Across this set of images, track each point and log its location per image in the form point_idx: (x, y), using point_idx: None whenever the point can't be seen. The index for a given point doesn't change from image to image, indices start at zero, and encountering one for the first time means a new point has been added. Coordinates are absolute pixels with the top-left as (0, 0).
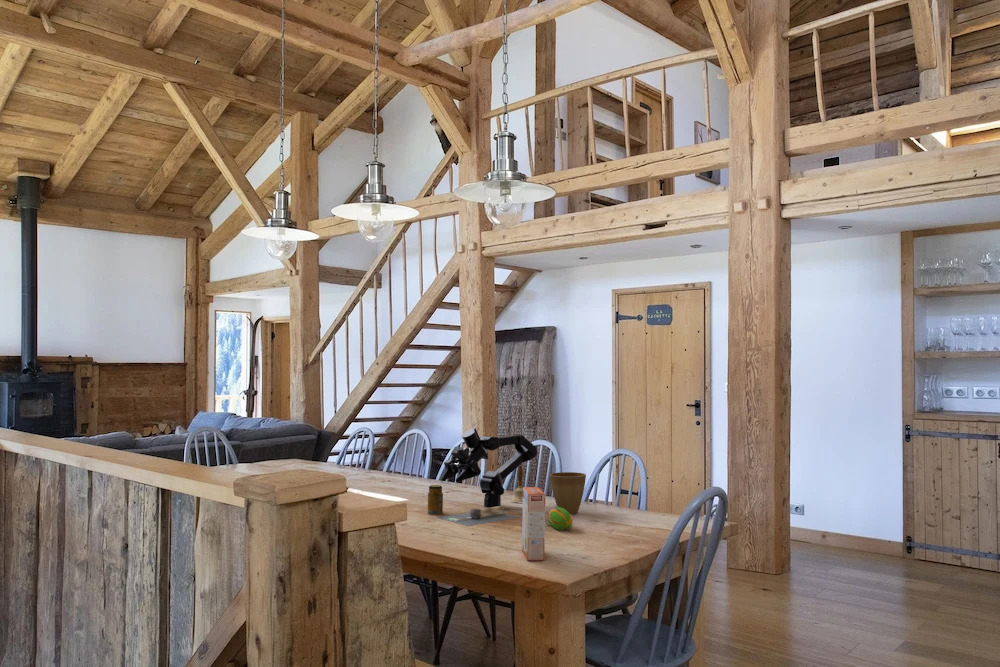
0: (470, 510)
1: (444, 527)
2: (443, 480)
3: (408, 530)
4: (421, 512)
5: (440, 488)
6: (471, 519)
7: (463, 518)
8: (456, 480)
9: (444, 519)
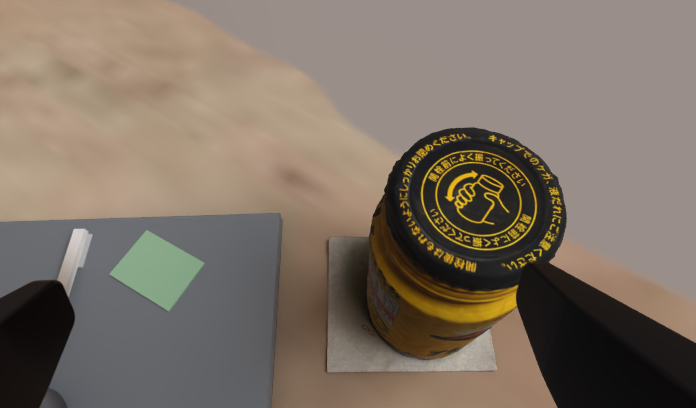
0: None
1: (96, 157)
2: (520, 311)
3: (189, 21)
4: None
5: (393, 232)
6: None
7: None
8: (38, 298)
9: (194, 223)
